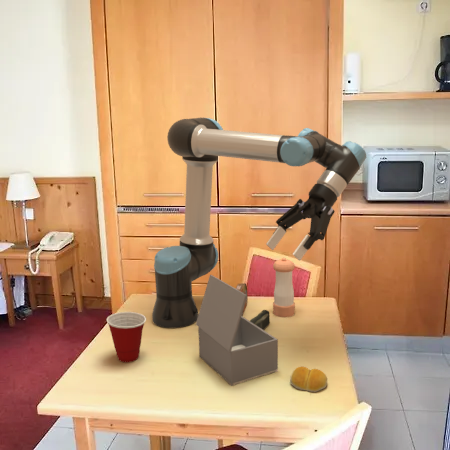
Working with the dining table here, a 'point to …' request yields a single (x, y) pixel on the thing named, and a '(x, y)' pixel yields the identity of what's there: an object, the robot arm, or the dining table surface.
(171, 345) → the dining table surface
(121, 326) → the plastic cup
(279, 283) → the salt shaker
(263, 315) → the black elongated piece
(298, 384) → the bread roll
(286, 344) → the dining table surface
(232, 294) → the box lid
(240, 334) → the box
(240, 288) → the tin
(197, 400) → the dining table surface
